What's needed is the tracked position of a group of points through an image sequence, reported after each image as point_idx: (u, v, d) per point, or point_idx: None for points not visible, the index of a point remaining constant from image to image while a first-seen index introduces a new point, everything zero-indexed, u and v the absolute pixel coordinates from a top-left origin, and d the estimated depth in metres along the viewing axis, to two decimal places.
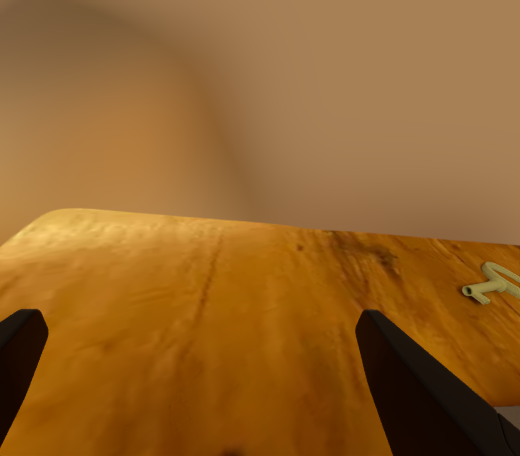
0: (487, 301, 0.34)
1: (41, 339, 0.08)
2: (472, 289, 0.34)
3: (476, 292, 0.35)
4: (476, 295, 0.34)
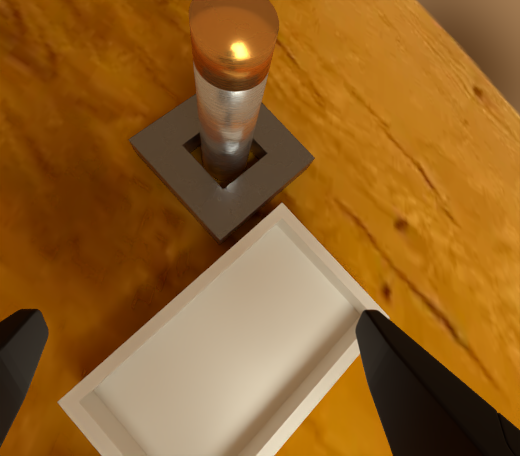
0: None
1: (41, 339, 0.08)
2: None
3: None
4: None
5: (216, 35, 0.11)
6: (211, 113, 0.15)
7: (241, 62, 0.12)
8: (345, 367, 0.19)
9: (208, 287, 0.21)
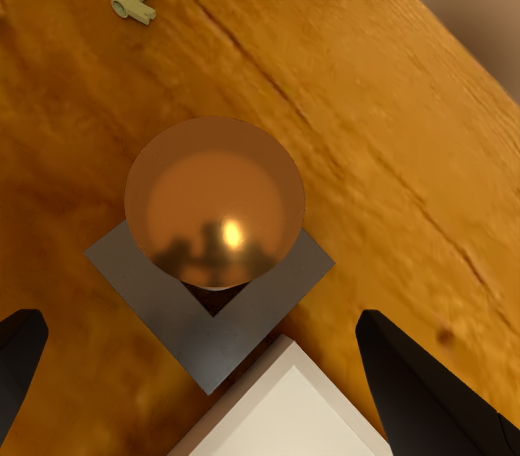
0: (151, 14, 0.20)
1: (41, 339, 0.08)
2: (122, 2, 0.20)
3: (132, 4, 0.20)
4: (132, 11, 0.20)
5: (180, 240, 0.06)
6: None
7: None
8: None
9: None
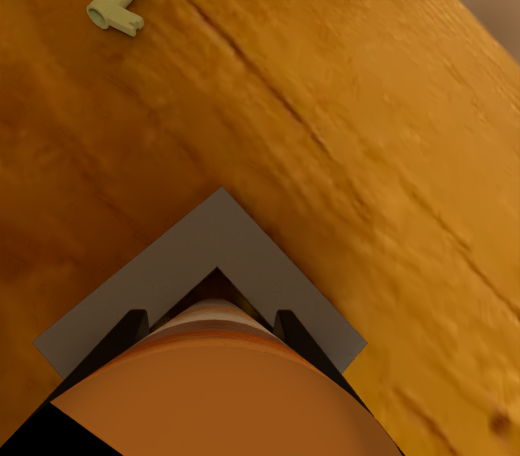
0: (138, 23, 0.16)
1: None
2: (100, 9, 0.15)
3: (113, 11, 0.16)
4: (114, 20, 0.16)
5: None
6: None
7: None
8: None
9: None
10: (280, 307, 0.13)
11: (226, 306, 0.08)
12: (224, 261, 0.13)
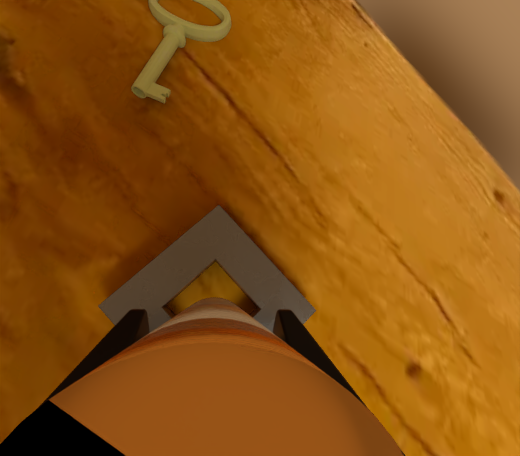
0: (167, 94, 0.23)
1: None
2: (141, 87, 0.22)
3: (149, 87, 0.22)
4: (150, 93, 0.22)
5: None
6: None
7: None
8: None
9: None
10: (257, 286, 0.20)
11: (226, 305, 0.08)
12: (220, 255, 0.20)
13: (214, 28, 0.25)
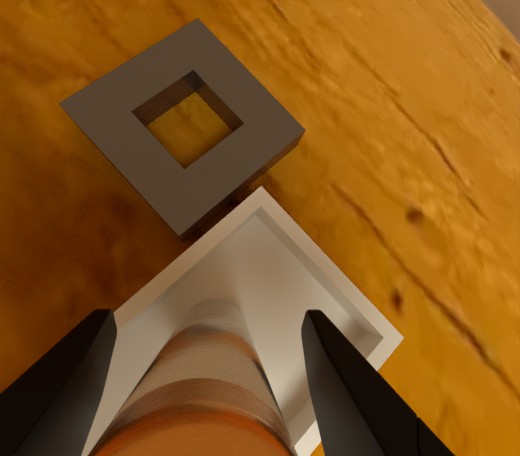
0: None
1: (113, 338, 0.08)
2: None
3: None
4: None
5: None
6: None
7: None
8: None
9: (164, 298, 0.16)
10: (240, 100, 0.18)
11: (220, 328, 0.09)
12: (198, 67, 0.18)
13: None
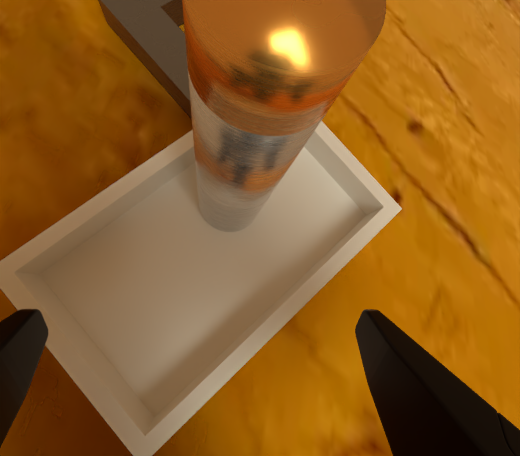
0: None
1: (41, 339, 0.08)
2: None
3: None
4: None
5: (245, 14, 0.05)
6: (217, 162, 0.09)
7: (301, 82, 0.05)
8: (347, 259, 0.16)
9: (186, 170, 0.17)
10: None
11: None
12: None
13: None
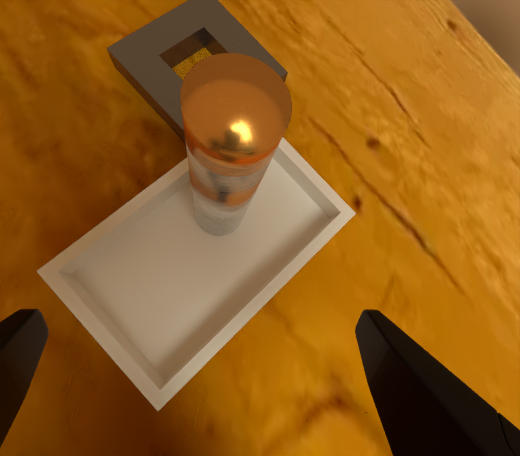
0: None
1: (41, 339, 0.08)
2: None
3: None
4: None
5: (214, 122, 0.09)
6: (205, 189, 0.13)
7: (244, 154, 0.09)
8: (311, 254, 0.20)
9: (183, 187, 0.22)
10: (238, 49, 0.24)
11: None
12: (207, 25, 0.24)
13: None
